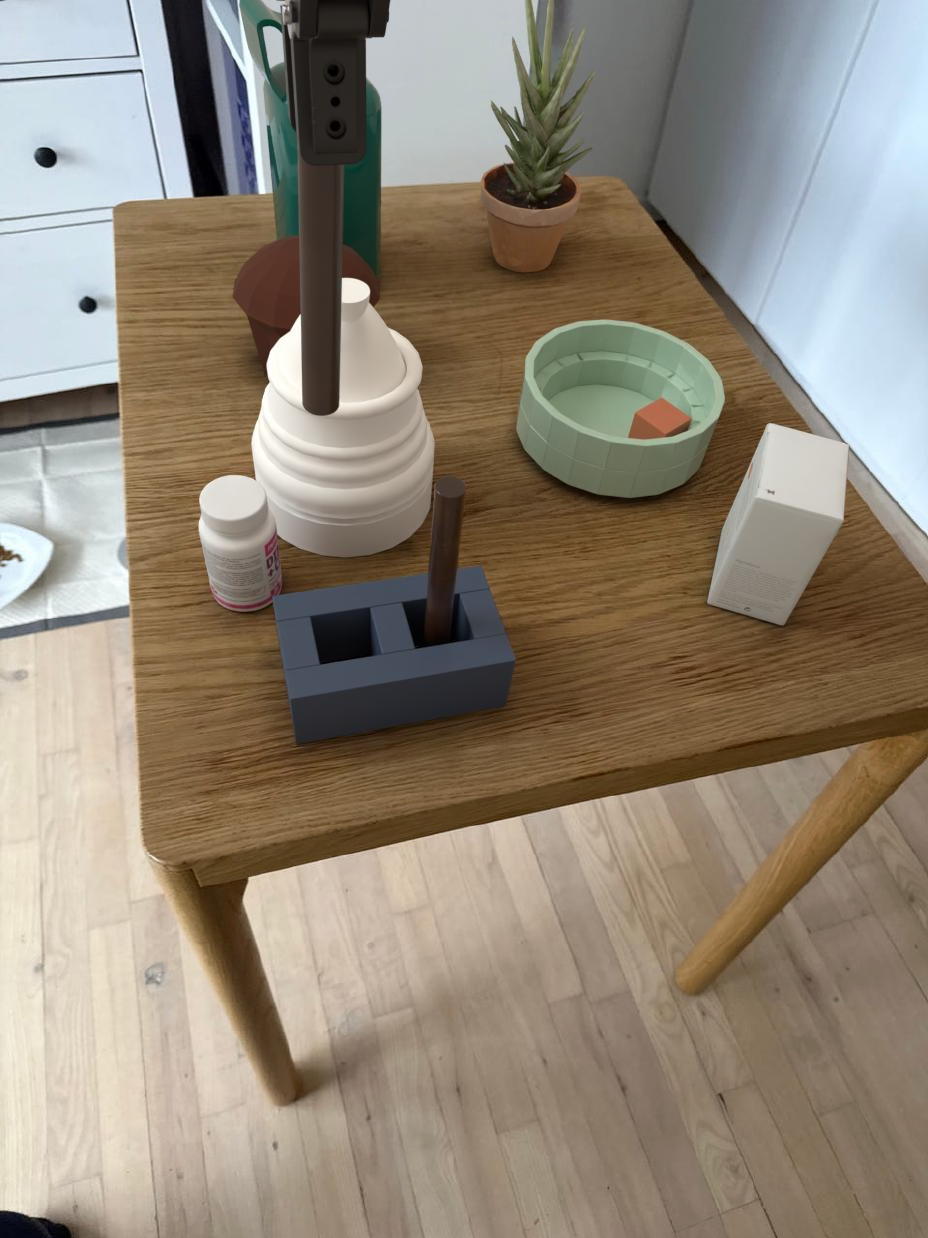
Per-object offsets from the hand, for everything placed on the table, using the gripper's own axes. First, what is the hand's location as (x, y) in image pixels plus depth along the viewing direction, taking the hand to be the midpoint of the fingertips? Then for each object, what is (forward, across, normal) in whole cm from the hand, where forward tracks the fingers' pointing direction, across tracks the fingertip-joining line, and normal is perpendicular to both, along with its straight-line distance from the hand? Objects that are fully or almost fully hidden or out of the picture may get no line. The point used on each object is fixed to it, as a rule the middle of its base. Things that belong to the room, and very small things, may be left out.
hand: (326, 142), depth 30 cm
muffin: (+33, +34, -3) cm, 47 cm away
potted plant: (+33, +47, -26) cm, 63 cm away
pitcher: (+33, +47, -6) cm, 58 cm away
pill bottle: (+33, +9, +5) cm, 35 cm away
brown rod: (+11, 0, +1) cm, 11 cm away
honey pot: (+33, +17, -3) cm, 37 cm away
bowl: (+33, +19, -25) cm, 46 cm away
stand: (+33, 0, -3) cm, 33 cm away
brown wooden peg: (+33, 0, -6) cm, 33 cm away
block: (+32, +17, -28) cm, 46 cm away
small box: (+33, +3, -30) cm, 45 cm away
